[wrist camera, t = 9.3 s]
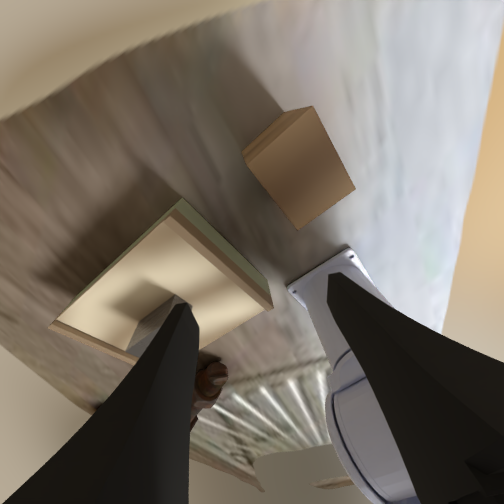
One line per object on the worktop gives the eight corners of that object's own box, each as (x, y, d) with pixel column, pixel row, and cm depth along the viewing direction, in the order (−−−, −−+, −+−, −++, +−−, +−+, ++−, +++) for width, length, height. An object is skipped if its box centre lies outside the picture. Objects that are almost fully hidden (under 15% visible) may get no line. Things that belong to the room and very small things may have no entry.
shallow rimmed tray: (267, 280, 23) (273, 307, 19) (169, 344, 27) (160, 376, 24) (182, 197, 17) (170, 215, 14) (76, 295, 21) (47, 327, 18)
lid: (264, 300, 21) (271, 335, 17) (168, 361, 24) (158, 399, 21) (167, 214, 15) (149, 241, 12) (63, 310, 19) (27, 351, 16)
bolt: (224, 347, 31) (185, 396, 37) (195, 355, 28) (157, 408, 34) (243, 385, 28) (197, 432, 34) (212, 401, 24) (167, 451, 30)
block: (318, 169, 17) (355, 188, 12) (278, 200, 18) (297, 230, 13) (284, 111, 15) (312, 105, 9) (241, 151, 16) (246, 165, 11)
